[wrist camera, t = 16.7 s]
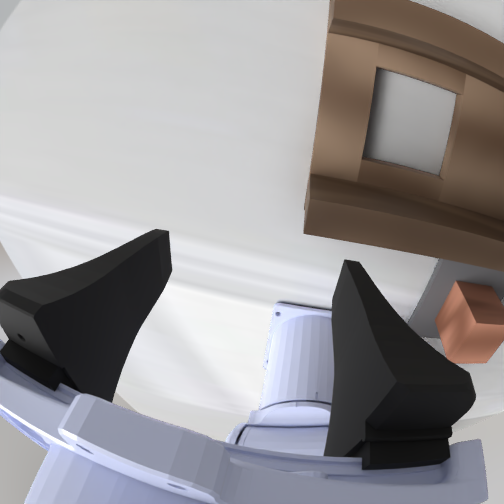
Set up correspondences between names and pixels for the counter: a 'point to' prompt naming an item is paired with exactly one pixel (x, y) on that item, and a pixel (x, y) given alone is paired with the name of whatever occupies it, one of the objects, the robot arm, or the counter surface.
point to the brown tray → (400, 177)
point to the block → (471, 323)
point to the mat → (441, 288)
